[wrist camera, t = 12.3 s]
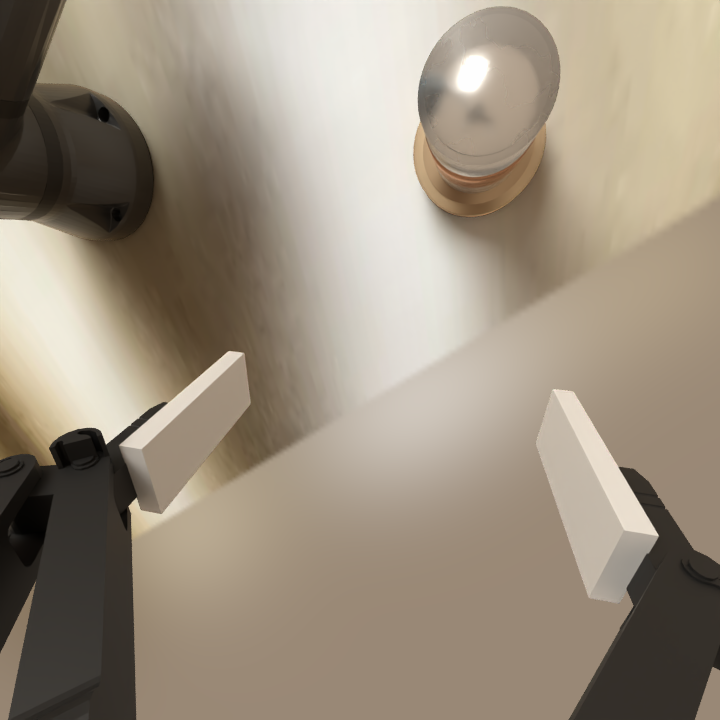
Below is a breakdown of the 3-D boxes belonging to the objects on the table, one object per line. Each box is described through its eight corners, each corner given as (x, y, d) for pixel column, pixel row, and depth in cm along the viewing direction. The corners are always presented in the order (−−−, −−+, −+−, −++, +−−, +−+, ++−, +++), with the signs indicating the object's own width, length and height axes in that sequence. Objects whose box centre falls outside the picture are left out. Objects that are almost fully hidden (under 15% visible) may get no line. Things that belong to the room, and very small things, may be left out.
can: (429, 192, 31) (409, 163, 20) (439, 98, 29) (424, 6, 18) (514, 195, 30) (545, 166, 18) (531, 97, 28) (579, -5, 16)
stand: (411, 214, 35) (407, 211, 32) (424, 89, 32) (420, 73, 29) (525, 220, 33) (531, 217, 30) (550, 85, 30) (560, 68, 27)
